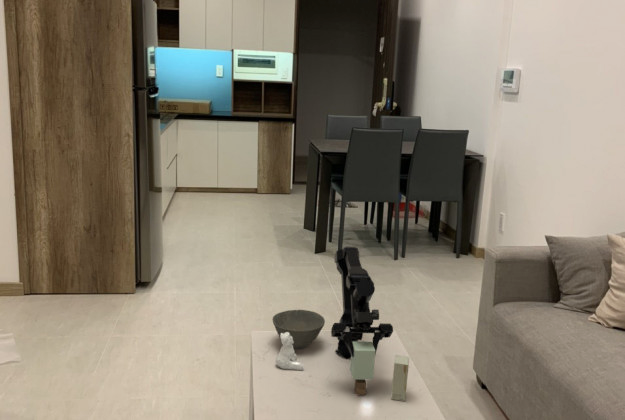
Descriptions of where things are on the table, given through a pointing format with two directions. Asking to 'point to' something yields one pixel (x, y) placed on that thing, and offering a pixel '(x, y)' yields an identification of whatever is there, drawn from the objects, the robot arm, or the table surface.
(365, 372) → the mint green pillar
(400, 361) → the skincare box
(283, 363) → the white creature statuette
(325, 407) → the table surface
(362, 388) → the brown box
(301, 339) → the bowl
